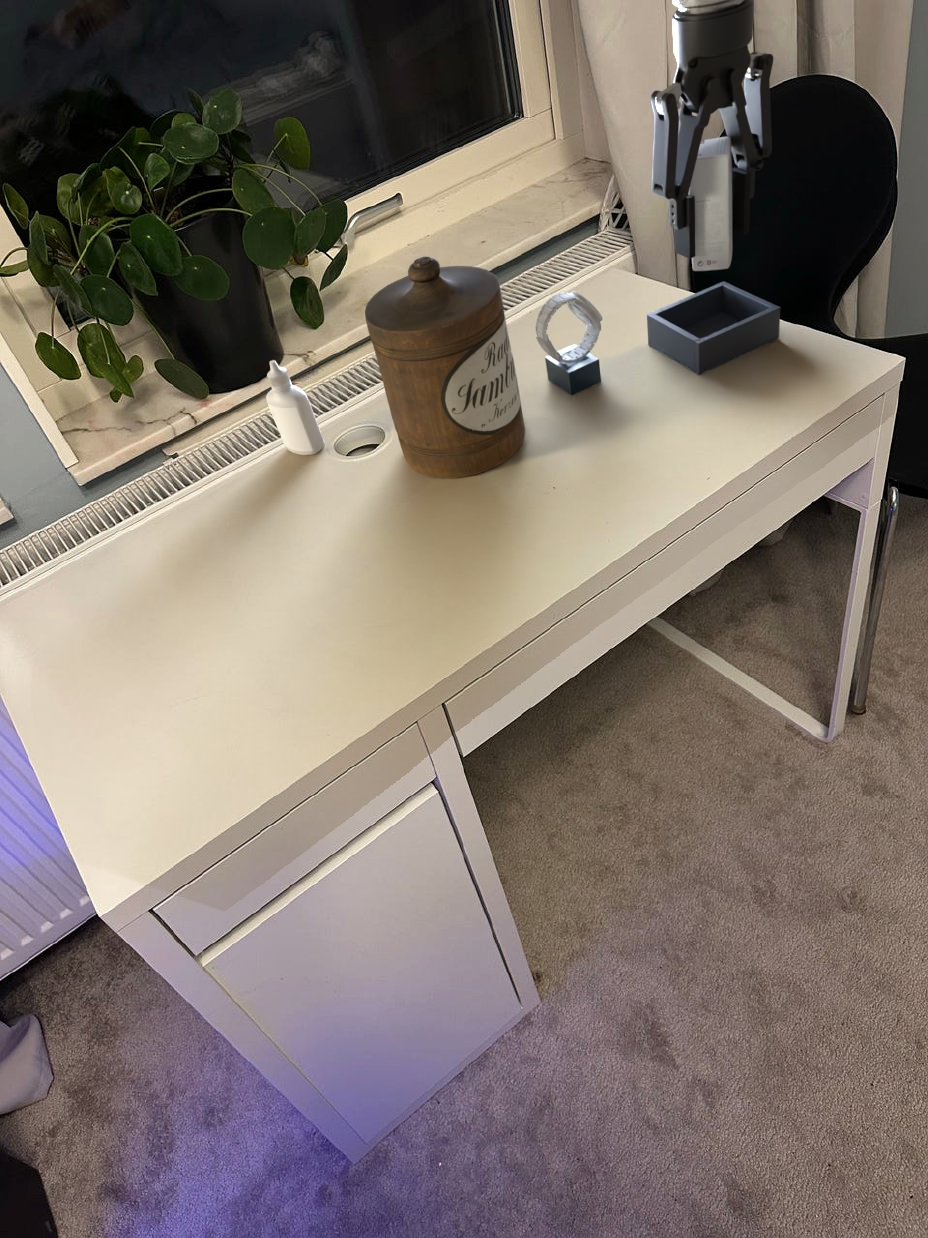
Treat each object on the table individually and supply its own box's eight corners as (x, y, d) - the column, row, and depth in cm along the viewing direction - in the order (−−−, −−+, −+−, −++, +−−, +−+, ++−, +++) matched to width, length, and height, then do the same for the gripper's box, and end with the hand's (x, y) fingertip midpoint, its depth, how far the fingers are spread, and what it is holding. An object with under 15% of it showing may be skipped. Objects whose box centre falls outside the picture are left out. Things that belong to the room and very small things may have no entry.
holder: (778, 339, 102) (780, 307, 100) (699, 375, 100) (698, 343, 98) (723, 311, 110) (723, 280, 107) (648, 344, 108) (646, 314, 105)
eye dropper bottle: (297, 463, 105) (262, 377, 96) (283, 445, 109) (248, 360, 100) (329, 449, 106) (296, 362, 97) (313, 431, 109) (281, 346, 101)
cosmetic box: (730, 269, 95) (733, 153, 87) (689, 272, 97) (688, 159, 88) (733, 246, 99) (735, 133, 91) (693, 249, 101) (692, 139, 92)
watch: (614, 375, 104) (607, 289, 97) (559, 401, 103) (547, 315, 95) (589, 360, 108) (580, 276, 101) (535, 384, 106) (522, 301, 99)
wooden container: (500, 484, 93) (460, 291, 78) (384, 475, 99) (325, 294, 84) (542, 409, 102) (514, 224, 87) (433, 405, 108) (388, 231, 93)
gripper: (767, -30, 85) (757, 204, 101) (604, 30, 81) (621, 265, 97) (822, -28, 80) (803, 218, 96) (651, 36, 76) (661, 283, 92)
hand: (711, 241), depth 97 cm, fingers closed on cosmetic box, 7 cm apart
